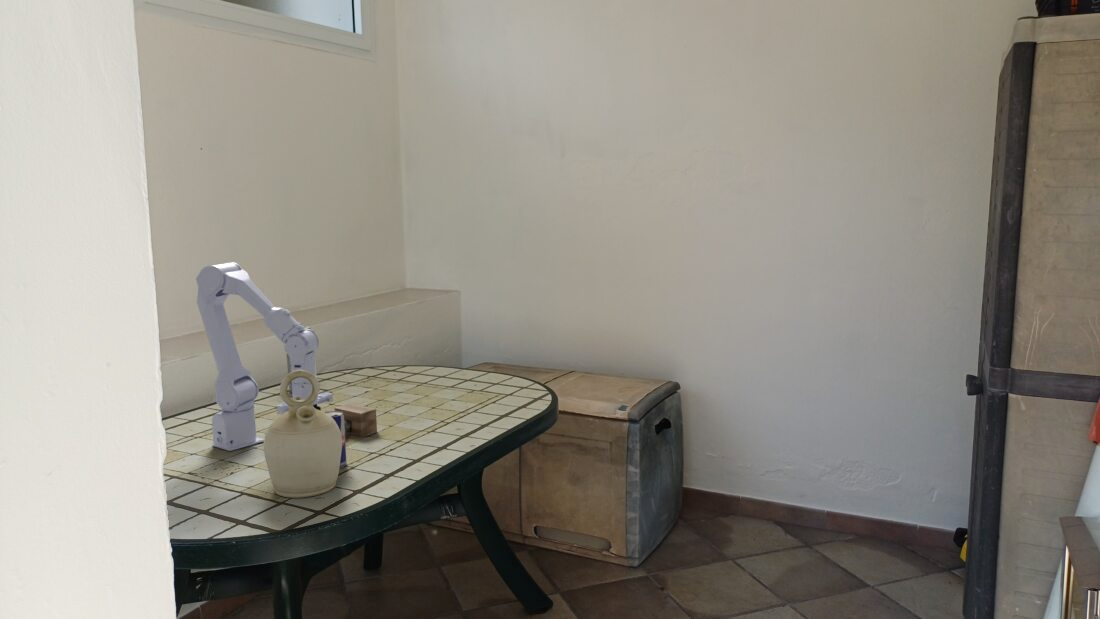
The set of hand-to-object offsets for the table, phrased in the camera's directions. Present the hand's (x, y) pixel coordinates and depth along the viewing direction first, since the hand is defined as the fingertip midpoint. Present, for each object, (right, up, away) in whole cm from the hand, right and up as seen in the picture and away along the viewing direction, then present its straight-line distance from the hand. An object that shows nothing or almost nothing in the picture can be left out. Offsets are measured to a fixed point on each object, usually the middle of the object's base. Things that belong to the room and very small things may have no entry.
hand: (307, 436), depth 199 cm
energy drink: (+10, -5, -14) cm, 18 cm away
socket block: (+9, -1, +12) cm, 15 cm away
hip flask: (-21, +6, +63) cm, 67 cm away
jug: (+8, -7, -27) cm, 29 cm away
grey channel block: (+5, -1, +6) cm, 8 cm away
